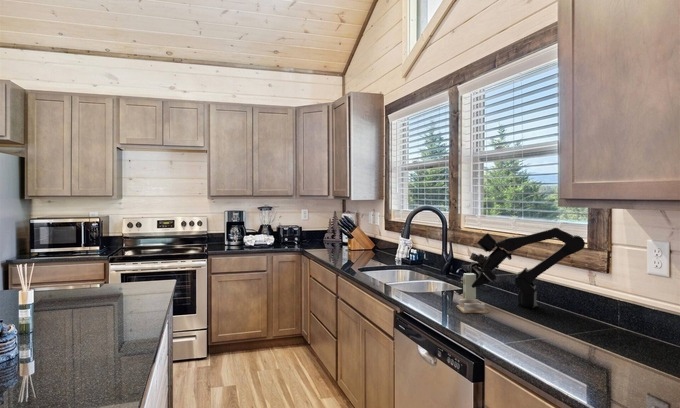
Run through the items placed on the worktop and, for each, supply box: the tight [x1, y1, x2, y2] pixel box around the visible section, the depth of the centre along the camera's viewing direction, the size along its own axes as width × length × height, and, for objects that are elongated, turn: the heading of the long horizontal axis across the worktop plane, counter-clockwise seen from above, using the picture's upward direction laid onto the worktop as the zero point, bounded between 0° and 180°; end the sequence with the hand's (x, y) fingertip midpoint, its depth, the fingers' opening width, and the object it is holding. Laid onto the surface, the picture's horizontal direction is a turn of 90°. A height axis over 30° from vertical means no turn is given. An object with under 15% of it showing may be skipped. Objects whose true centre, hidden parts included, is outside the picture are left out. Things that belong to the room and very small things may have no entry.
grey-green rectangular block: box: [462, 272, 477, 299], centre depth 190 cm, size 5×4×12 cm
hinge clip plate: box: [456, 298, 489, 314], centre depth 177 cm, size 10×9×3 cm
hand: (468, 284), depth 190 cm, fingers open, 9 cm apart
